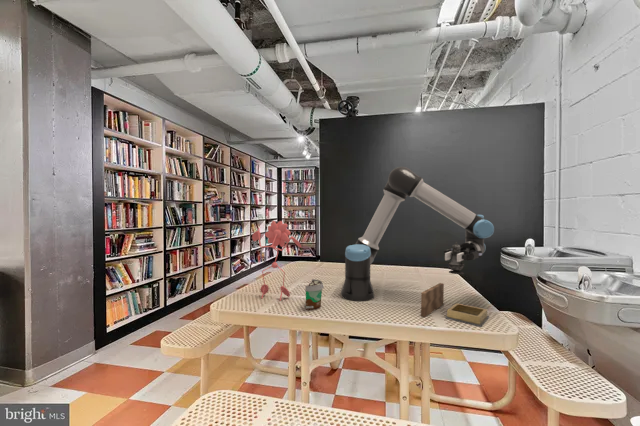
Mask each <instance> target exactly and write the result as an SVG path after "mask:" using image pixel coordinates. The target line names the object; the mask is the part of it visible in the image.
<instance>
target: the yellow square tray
mask: <svg viewBox="0 0 640 426" xmlns="http://www.w3.org/2000/svg"><path fill="white" fill-rule="evenodd" d="M489 318H490V315H488V309H487V308H482V307H477V306H473V305H467V304H461V303H455V304H454V305H452V306H451V307H449V308H448V309H447V311H446V316H445V319H447V320H449V321H450V320H451V321H455V322H458V323H459V322H460V323H464V324H467V325H471V326H475V327H481V328H482V327H483V325H484V324H485V323H486V322H487V321H488V320H489Z"/></svg>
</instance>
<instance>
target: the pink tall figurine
mask: <svg viewBox="0 0 640 426" xmlns="http://www.w3.org/2000/svg"><path fill="white" fill-rule="evenodd" d="M288 225H289V224H287V223H284V222H283V221H282V220H279V221H278V222H277V223H276V221H275V220H272V221H271V224H270V225H268V226H267V230H268V231H266V232H265V233H264V235H265V237H266V238H268V240H267V243H268V244H271V245H263V246H262V243H261V236H262V234H261V232H260V231H259V230H257V231H254V232H253V233H252V235H251V239H252V241H253V242H257V241H258V242H259V243H258V244H259V248H271V249H273V250H275V251H276V256H275V260H274V261H273V262H272V263H271V266H269V267H267V268H265V269H263V270H262V271H261V272H262V280H263V284H262V285H261V287H260V292H261V293H262V294H261V299H262V300H263V298H264V296H265V295H266V294H268V292H269V291H270V290H269V289H270V288H269V285H268V284H266V282H265V281H266V280H265V275H264V272H265V271H266V270H268V269H270V268H273V269H277V268H279V270H281V271H282V273H283V279H282V280H283V281H282V285H281V286H280V287H279V289H280V296H279V301H280V302H281V301H282V296H283V295H285V296H287V298H290V297H291V294H292V292H291V291H289V290H288V289H287V288H286V287H285V273H286V272H285V271H284V270H283V269H282V268H281V267H280V266H279V265H278V263H277V259H278V255H279V251H280V252H283V250H284V249H285V248H286V246H287V245H288V244H289V242H290V241H291V240H292V242H294V244H295V245H296V246H297V247H299V248H301V249H303V246H302V244H301V243H300V241H299V240H298V239H297V238H295V237H294V236H292V235H291V233H292V232H291V231H290V230H289V229H288ZM290 235H291V236H290ZM289 236H290V237H289ZM278 246H280V247H281V248H279V247H278ZM293 302H294V300H292V301H291V303H293Z"/></svg>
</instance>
